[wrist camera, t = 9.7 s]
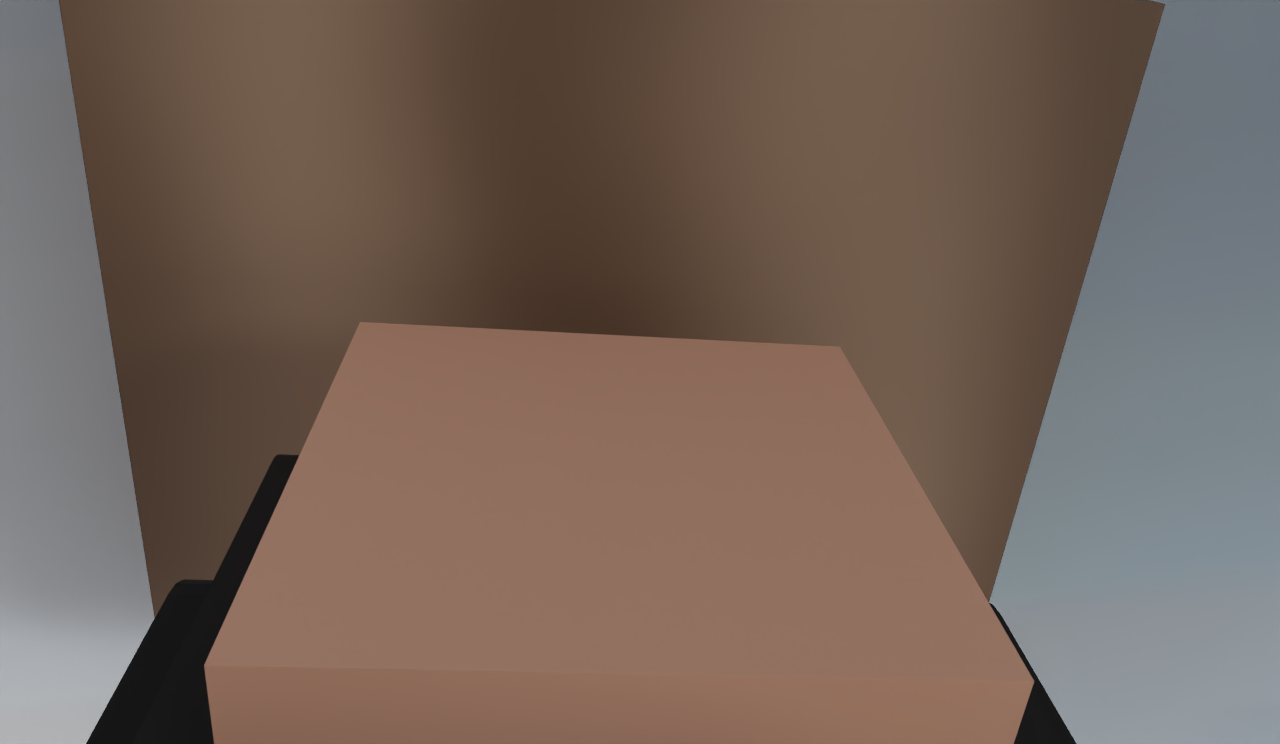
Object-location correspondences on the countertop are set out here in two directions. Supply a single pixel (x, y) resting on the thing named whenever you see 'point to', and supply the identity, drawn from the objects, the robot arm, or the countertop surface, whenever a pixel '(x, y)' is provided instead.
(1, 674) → the countertop surface
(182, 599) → the robot arm
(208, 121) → the walnut base
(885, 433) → the terracotta cube
